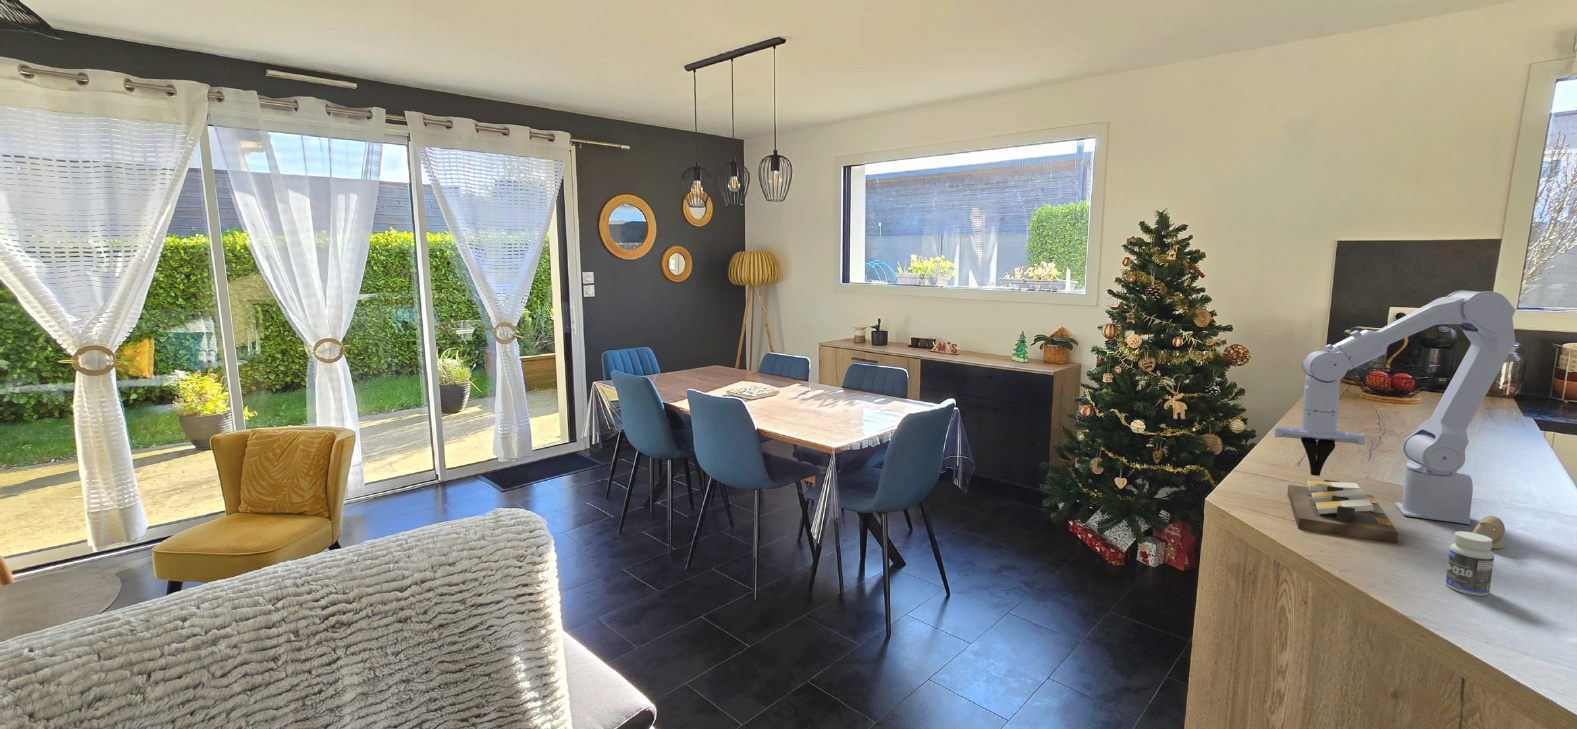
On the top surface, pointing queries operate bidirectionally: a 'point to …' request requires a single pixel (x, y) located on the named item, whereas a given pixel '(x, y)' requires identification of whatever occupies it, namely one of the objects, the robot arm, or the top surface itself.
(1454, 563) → the pill bottle
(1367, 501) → the rocker near
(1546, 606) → the top surface
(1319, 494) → the rocker middle
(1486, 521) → the decorative ornament
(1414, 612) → the top surface
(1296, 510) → the switch panel
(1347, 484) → the block
